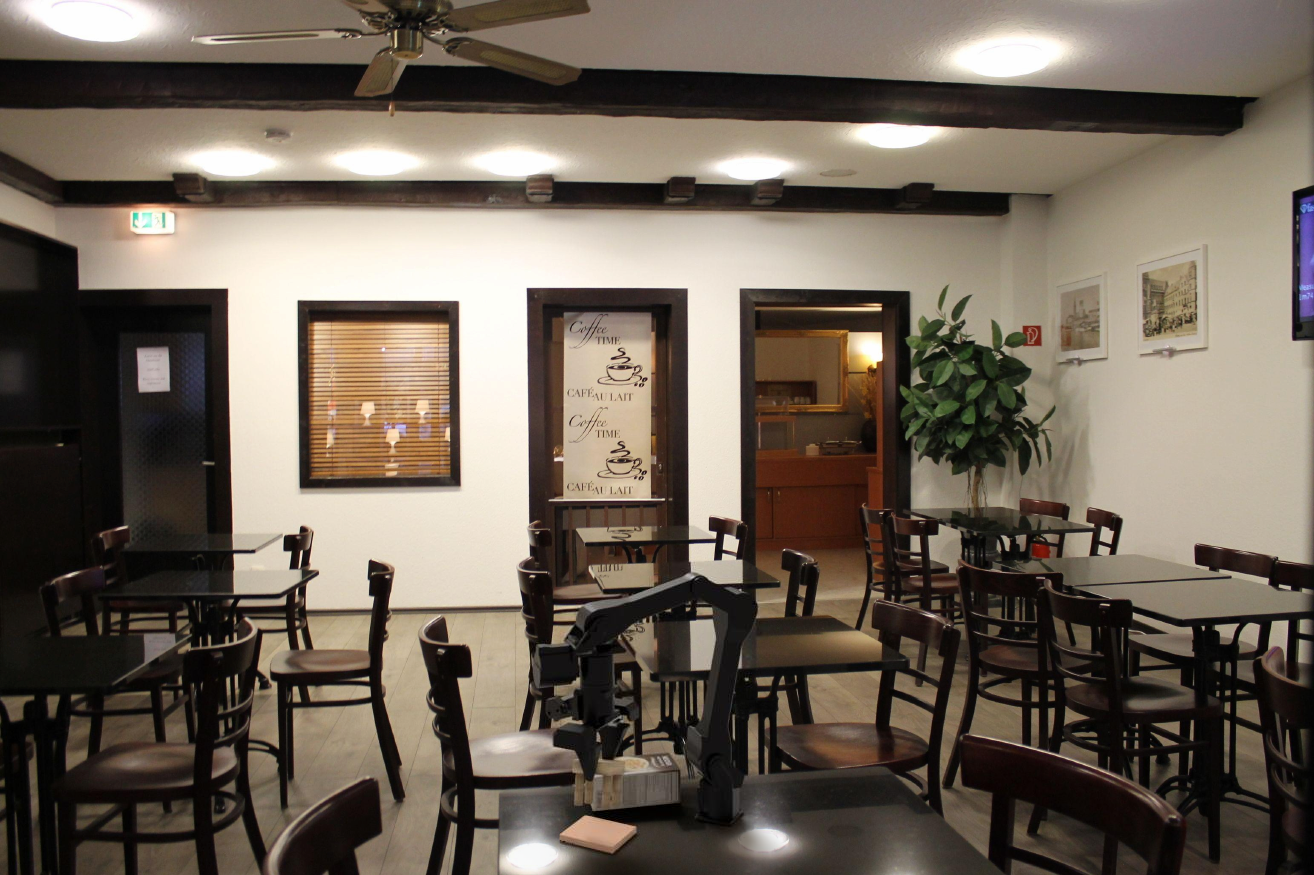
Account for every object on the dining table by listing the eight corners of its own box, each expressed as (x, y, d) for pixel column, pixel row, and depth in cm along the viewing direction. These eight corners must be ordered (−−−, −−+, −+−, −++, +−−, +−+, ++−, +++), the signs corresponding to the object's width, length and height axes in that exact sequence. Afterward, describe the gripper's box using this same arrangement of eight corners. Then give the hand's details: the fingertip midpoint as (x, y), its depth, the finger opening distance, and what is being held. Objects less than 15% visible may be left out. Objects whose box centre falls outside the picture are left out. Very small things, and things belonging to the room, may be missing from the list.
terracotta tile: (636, 832, 149) (636, 826, 149) (612, 853, 142) (612, 847, 142) (585, 821, 153) (585, 815, 153) (559, 840, 146) (559, 834, 146)
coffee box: (585, 758, 165) (669, 750, 169) (585, 792, 165) (669, 784, 169) (592, 777, 156) (681, 768, 160) (593, 813, 156) (681, 804, 160)
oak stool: (623, 806, 146) (625, 760, 148) (607, 809, 142) (609, 762, 144) (586, 802, 149) (589, 758, 151) (570, 805, 145) (573, 759, 147)
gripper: (585, 661, 159) (586, 748, 159) (523, 690, 143) (525, 787, 143) (640, 668, 154) (641, 758, 154) (583, 699, 137) (584, 799, 138)
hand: (598, 774), depth 147 cm, fingers closed on oak stool, 5 cm apart
